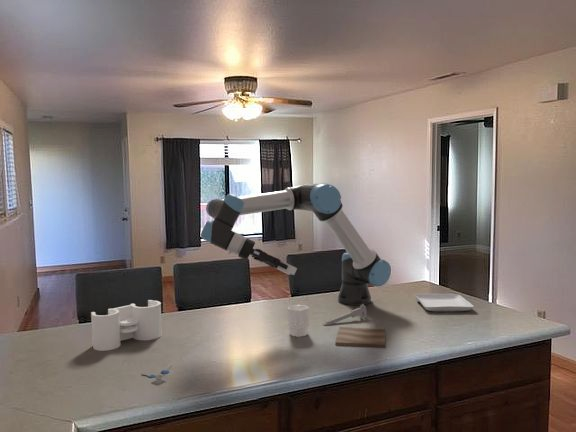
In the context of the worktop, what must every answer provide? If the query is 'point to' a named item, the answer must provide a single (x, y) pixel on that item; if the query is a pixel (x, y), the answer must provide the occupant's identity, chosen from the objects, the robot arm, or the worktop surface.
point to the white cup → (298, 320)
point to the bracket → (126, 325)
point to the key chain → (158, 377)
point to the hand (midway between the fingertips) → (293, 271)
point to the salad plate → (443, 302)
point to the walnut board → (361, 337)
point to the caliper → (349, 315)
